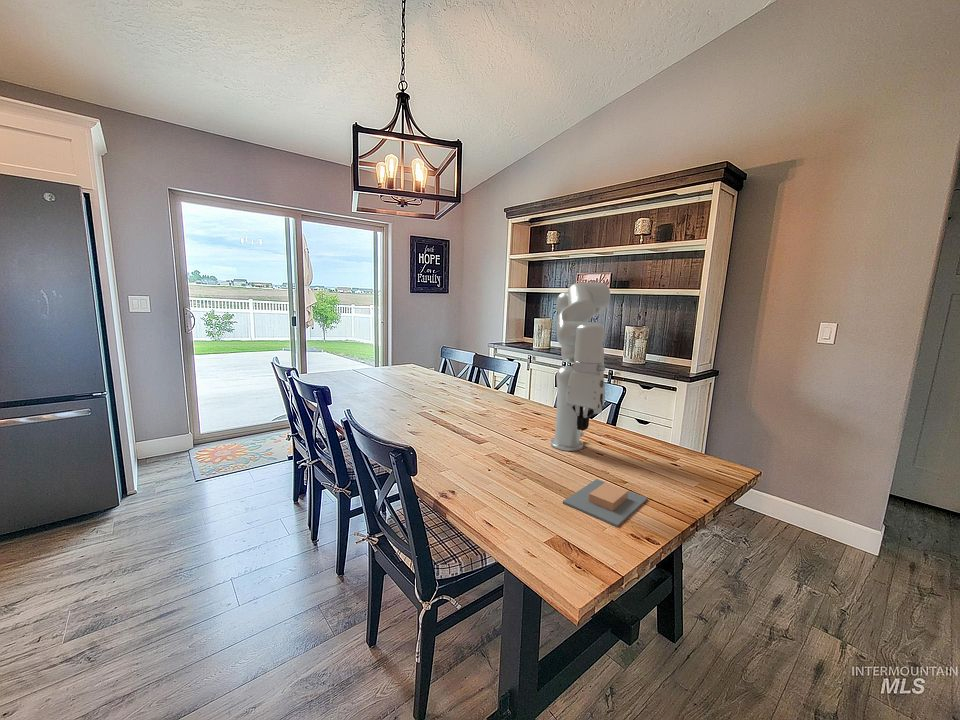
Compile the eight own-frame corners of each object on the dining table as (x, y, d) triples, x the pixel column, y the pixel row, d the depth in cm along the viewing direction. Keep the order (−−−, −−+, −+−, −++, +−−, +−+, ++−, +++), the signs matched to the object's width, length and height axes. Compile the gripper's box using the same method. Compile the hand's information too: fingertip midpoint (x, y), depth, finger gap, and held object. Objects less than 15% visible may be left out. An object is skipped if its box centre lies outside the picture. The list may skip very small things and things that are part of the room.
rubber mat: (596, 480, 124) (596, 478, 124) (647, 499, 113) (647, 497, 113) (562, 503, 110) (562, 501, 110) (617, 527, 99) (617, 524, 99)
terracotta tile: (605, 482, 117) (628, 490, 112) (604, 489, 117) (627, 498, 112) (589, 493, 110) (613, 503, 105) (588, 501, 110) (612, 511, 105)
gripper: (618, 370, 109) (612, 433, 112) (570, 362, 120) (566, 420, 122) (605, 373, 104) (600, 439, 107) (557, 365, 114) (553, 425, 117)
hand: (582, 429), depth 115 cm, fingers closed
